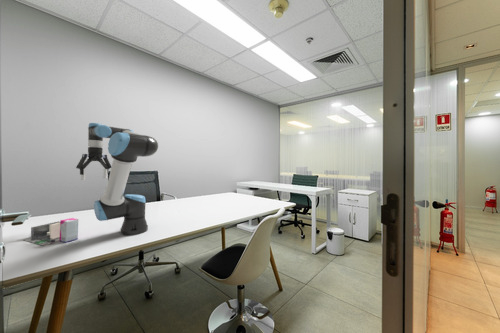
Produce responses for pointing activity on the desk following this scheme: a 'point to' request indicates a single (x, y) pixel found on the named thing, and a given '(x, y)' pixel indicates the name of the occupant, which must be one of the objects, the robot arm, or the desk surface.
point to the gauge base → (41, 235)
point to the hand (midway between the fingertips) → (94, 179)
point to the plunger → (53, 231)
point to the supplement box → (68, 230)
